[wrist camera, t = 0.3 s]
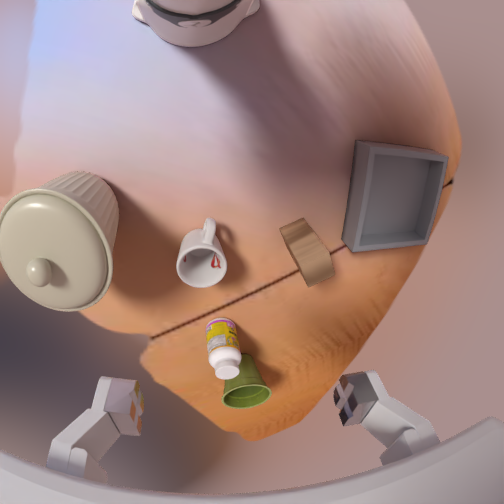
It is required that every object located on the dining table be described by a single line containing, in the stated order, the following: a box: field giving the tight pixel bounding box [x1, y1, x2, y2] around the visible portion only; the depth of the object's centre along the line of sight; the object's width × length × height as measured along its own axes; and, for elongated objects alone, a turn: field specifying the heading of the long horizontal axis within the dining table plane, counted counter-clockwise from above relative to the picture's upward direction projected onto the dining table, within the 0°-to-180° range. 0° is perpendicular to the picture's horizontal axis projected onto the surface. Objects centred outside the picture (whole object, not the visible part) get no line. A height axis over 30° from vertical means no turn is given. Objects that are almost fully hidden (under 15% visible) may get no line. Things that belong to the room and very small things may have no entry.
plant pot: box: [222, 354, 272, 409], centre depth 67 cm, size 12×12×11 cm
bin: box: [341, 140, 449, 252], centre depth 51 cm, size 20×20×5 cm
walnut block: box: [279, 218, 335, 288], centre depth 49 cm, size 5×5×12 cm
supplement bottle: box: [206, 318, 241, 379], centre depth 58 cm, size 7×7×13 cm
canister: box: [0, 171, 119, 311], centre depth 35 cm, size 18×18×21 cm
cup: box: [176, 218, 227, 288], centre depth 47 cm, size 11×8×8 cm
